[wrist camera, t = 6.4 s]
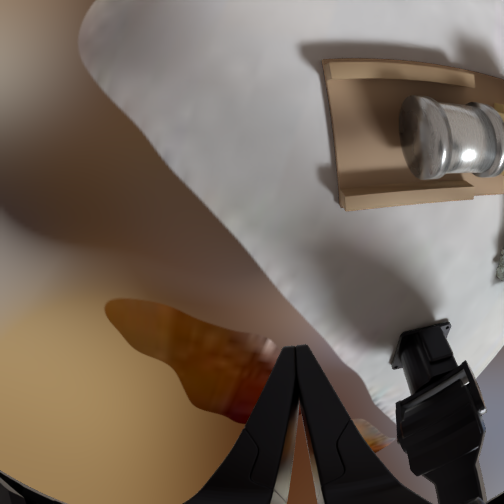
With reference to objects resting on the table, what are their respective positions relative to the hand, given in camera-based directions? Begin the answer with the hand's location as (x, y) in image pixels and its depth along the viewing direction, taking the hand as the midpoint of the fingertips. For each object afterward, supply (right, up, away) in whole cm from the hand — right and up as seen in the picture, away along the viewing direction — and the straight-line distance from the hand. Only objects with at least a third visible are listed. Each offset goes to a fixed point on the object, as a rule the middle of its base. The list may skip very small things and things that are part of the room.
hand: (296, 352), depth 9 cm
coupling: (+11, +12, +5) cm, 17 cm away
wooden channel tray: (+12, +12, +6) cm, 18 cm away
